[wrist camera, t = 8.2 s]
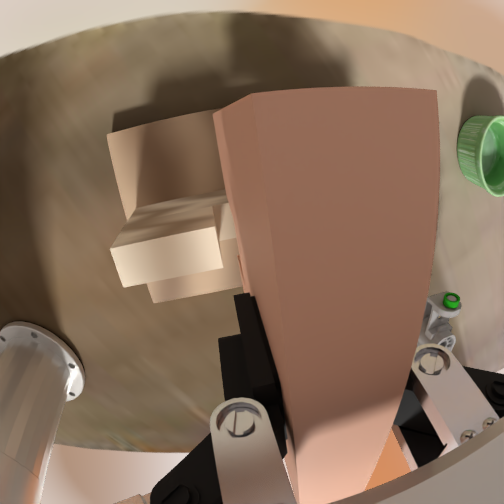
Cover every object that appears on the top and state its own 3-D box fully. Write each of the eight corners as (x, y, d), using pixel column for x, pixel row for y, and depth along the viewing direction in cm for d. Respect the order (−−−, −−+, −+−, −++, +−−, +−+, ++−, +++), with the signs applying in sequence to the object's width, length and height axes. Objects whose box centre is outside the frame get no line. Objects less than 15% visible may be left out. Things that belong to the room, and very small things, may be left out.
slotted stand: (155, 294, 28) (142, 365, 20) (111, 133, 22) (64, 144, 13) (340, 256, 30) (389, 311, 21) (329, 97, 23) (391, 92, 15)
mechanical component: (411, 252, 31) (469, 299, 22) (398, 326, 35) (440, 379, 26) (389, 256, 31) (447, 307, 22) (378, 332, 35) (419, 388, 26)
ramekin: (445, 120, 26) (474, 125, 22) (490, 105, 25) (517, 109, 21) (458, 196, 29) (484, 208, 25) (500, 173, 29) (525, 182, 25)
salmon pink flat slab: (212, 114, 16) (251, 93, 3) (255, 107, 17) (435, 90, 3) (248, 316, 22) (300, 518, 9) (282, 309, 23) (358, 501, 9)
